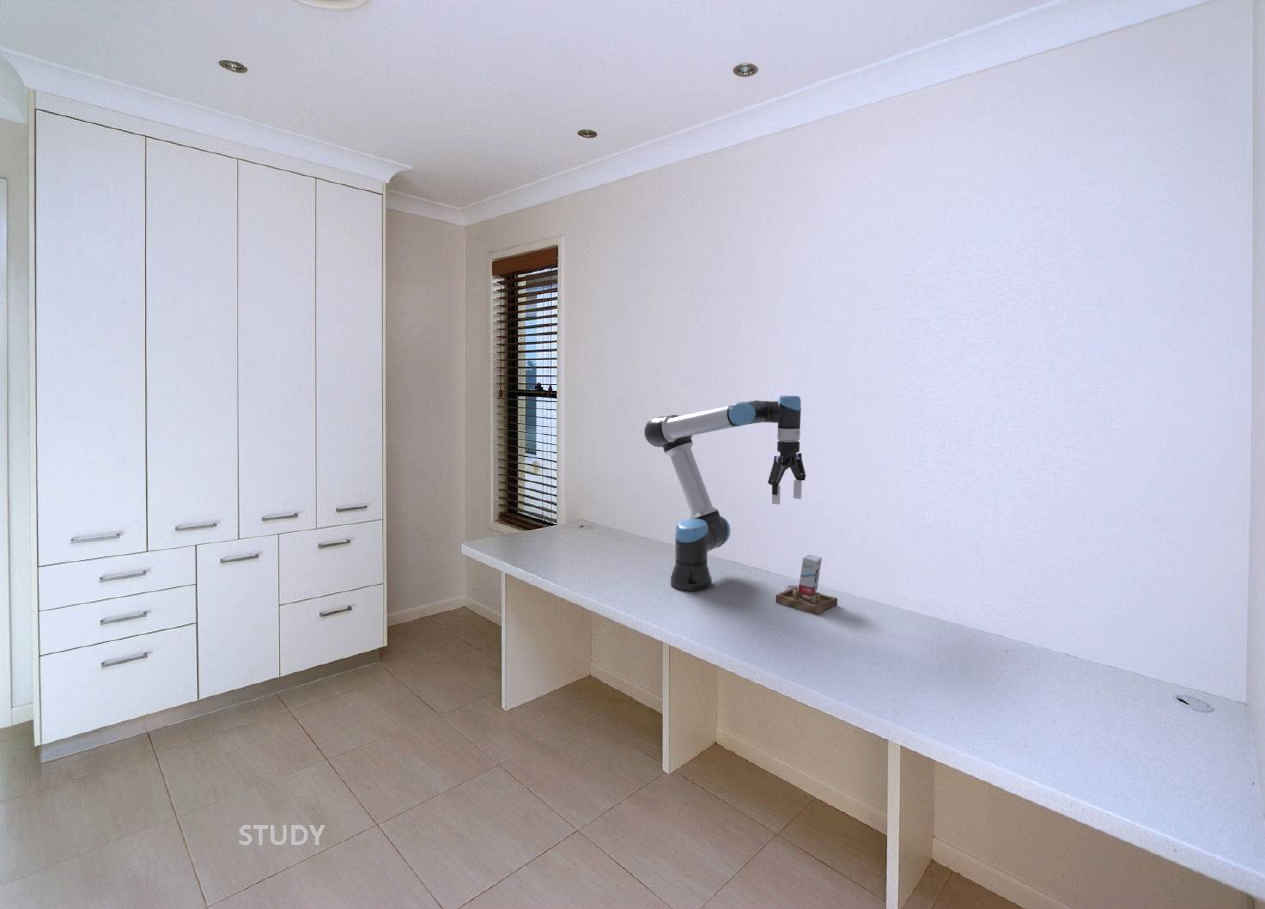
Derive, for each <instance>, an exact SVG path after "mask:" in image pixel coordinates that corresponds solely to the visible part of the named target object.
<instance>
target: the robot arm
mask: <svg viewBox="0 0 1265 909" xmlns="http://www.w3.org/2000/svg"><path fill="white" fill-rule="evenodd" d="M801 401H802V400H801V397H800V396H798V395H780V396H779V397H778V399H777V401H775V400H774V401H772V400H771V401H769V400H749V401H741V402H737V403H736V402H735V404H732V405H731V404H730V405H726V406H722V407H717V408H713V409H708V410H703V411H698V412H694V413H690V414H686V415H685V414H684V415H679V414H671V415H663V416H655V417H652V418H651V419H649V421H647V423H646V424H645V427H644V431H643V433H644V438H645V439H646V441H647V442H648V443H649V445H651V446H653V447H656V448H663V452H664V454H665V455H667V456H668V457H670V459H671V462H672V466H673V467H674V471H675V474H676V476H677V478H678V481H679V484H680V487H681V490H682V492H683V494H684V497H685V501H686V504H687V506H688V509H689V511H690V514H691V515H690V517H689V519H684V520H681V521H679V522H678V523H677V524H676V526H675V531H674V532H675V533H674V537H675V538H674V539H675V554H674V555H675V561H674V562H675V563H674V567H673V570H672V574H671V577H670V586H671V587H673V588H674V589H677V590H680V591H685V592H687V591H688V592H698V591H699V592H701V591H705V590H708V589H710V588H711V587H712V586H713V583H712V582H713V580H712V576H711V573H710V570H709V566H708V552H710V551H712V550H715V549H717V548H720V547H722V546H723V545H724V544H726V543H727V542H728V540H729V538H730V536H731V527H730V523H729V521H728V520H727V519H726V518H725V517H724V516H722V515H720V512H719V509H717V508H716V507H713V505H712V502H711V499H710V496H709V494H708V491H707V489H706V486H705V483H704V480H703V478H702V475H701V473H700V472H701V471H700V470H699V469H700V468H699V466H698V464H697V462H696V458H695V456H694V453H693V450H692V447H693V444H694V443H693V440H692V438H693V436H697V435H700V434H705V433H709V432H710V433H711V432H715V431H721V430H725V429H731V428H735V427H741V426H746V425H752V424H759V423H761V424H762V423H772V424H773V423H774V424H777V434H776V435H777V440H778V441H777V442H776V443H777V444H776V445H777V447H776V450H777V452H778V453H779V455H774V457H773V463H772V468H771V471H770V474H769V477H768V480H767V484H768V485H771V504H773V505H778V506H779V505H781V485H780V483H781V482H782V479H783V477H784V474H785V472H786V470H788V469H790V470H791V472H792V474H793V477H794V480H793V497H792V498H793V499H797V500H802V490H803V489H802V488H803V487H802V484H803V481H806V477H807V474H806V470H805V467H804V463H803V462H804V461H803V459H802V458H803V457H802V456H803V454H802V453H801V452H800V446H801V444H800V443H801V442H800V441H799V440H801V416H802V415H801V414H802V406H801V405H802V403H801Z"/></svg>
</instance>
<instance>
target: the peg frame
mask: <svg viewBox="0 0 1265 909" xmlns="http://www.w3.org/2000/svg"><path fill="white" fill-rule="evenodd" d="M798 589H799V586H794V587H790V588H789V589H786V590H784V591H782V592H779V593H778V594H776V595H775V603H777V604H780V605H783V606H787V607H791V608H794V609H797V610H800V611H803V612H806V613H809V614H810V613H811V614H813V615H816V616H820V615H822V614H824V613H826V612H828V611H830V610H832V609H834V608H835V607H837V606H838V597H836V596H832V595H827V594H824V593H820V592H819V591H818V592H817V591H816V592H815V593H814V594H813V595H812V596H811V595H807V594H803V593H799V592H798Z"/></svg>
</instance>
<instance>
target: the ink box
mask: <svg viewBox="0 0 1265 909" xmlns="http://www.w3.org/2000/svg"><path fill="white" fill-rule="evenodd" d="M822 559H823V558H822V557H820V556H817V555H814V554H809V553H808V554H806V555H805V556H803V557H802V564H801V571H800V577H799V581H798V582H799V584H798V588H799V589H798V592H799V593H803V594H807V595H811V596H812V595H813V594H814V593H815V592H817V591H818V587H819V580H820V572H821V566H822Z"/></svg>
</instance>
